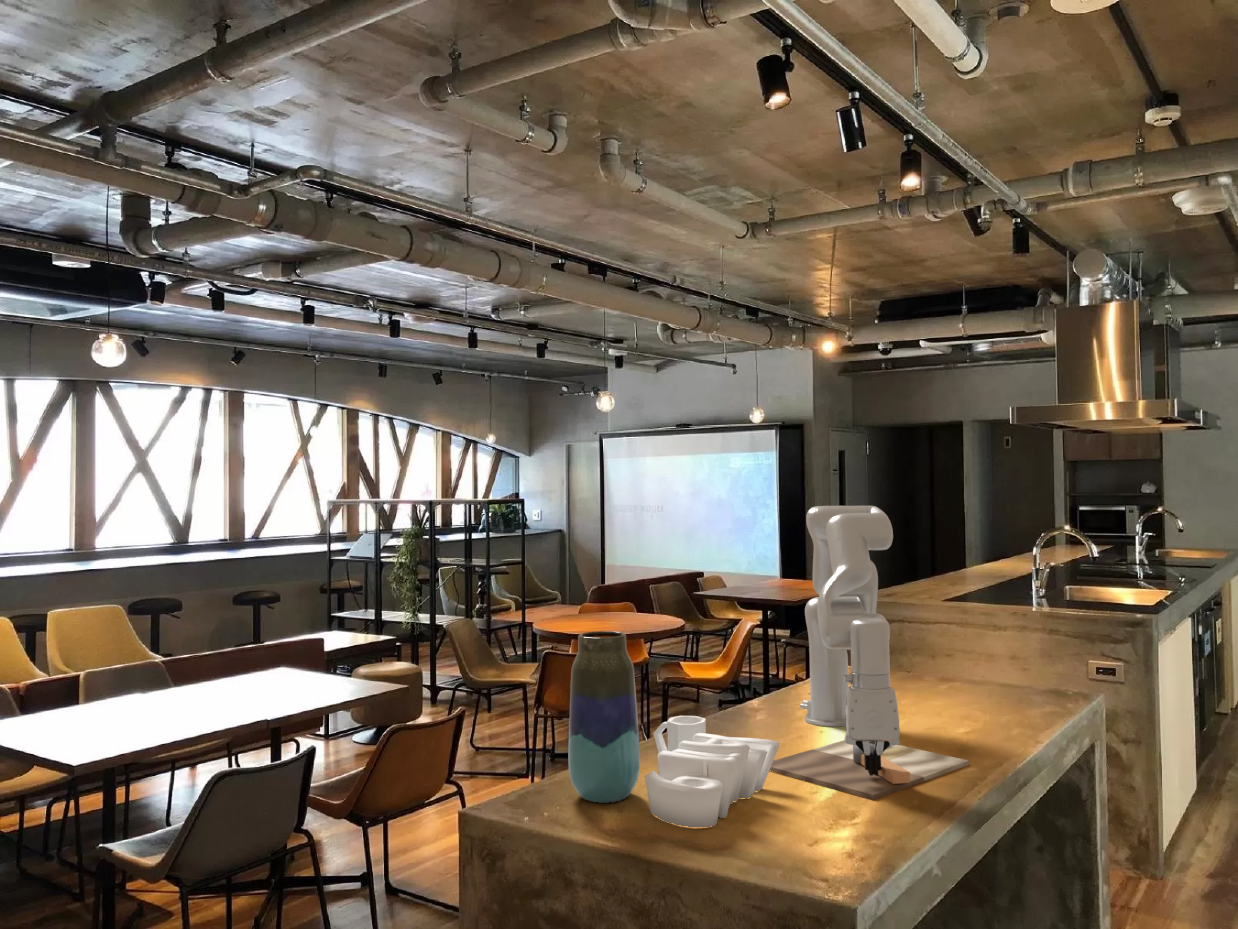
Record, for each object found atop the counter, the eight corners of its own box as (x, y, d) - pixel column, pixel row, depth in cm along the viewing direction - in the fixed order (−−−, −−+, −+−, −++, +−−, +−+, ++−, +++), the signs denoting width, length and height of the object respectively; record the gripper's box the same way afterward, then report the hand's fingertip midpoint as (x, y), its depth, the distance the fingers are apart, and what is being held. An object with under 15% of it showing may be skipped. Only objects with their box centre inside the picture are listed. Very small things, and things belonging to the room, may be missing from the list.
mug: (713, 764, 204) (712, 718, 205) (695, 774, 197) (694, 726, 197) (664, 756, 211) (663, 712, 211) (645, 766, 203) (644, 720, 204)
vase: (616, 813, 174) (613, 641, 175) (554, 801, 181) (552, 636, 182) (653, 792, 185) (650, 631, 186) (594, 782, 193) (592, 627, 194)
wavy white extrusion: (715, 774, 197) (714, 723, 198) (789, 786, 188) (788, 732, 189) (625, 824, 168) (624, 764, 168) (707, 841, 159) (706, 778, 159)
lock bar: (849, 758, 202) (849, 743, 202) (870, 757, 203) (870, 742, 203) (890, 784, 184) (889, 767, 184) (913, 782, 185) (912, 765, 185)
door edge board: (761, 769, 200) (760, 754, 200) (858, 740, 222) (858, 727, 222) (873, 800, 179) (872, 784, 179) (969, 765, 200) (968, 751, 200)
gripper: (834, 684, 186) (837, 778, 186) (912, 685, 185) (915, 780, 184) (830, 677, 194) (832, 768, 193) (905, 677, 192) (907, 769, 192)
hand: (872, 773), depth 189 cm, fingers closed
